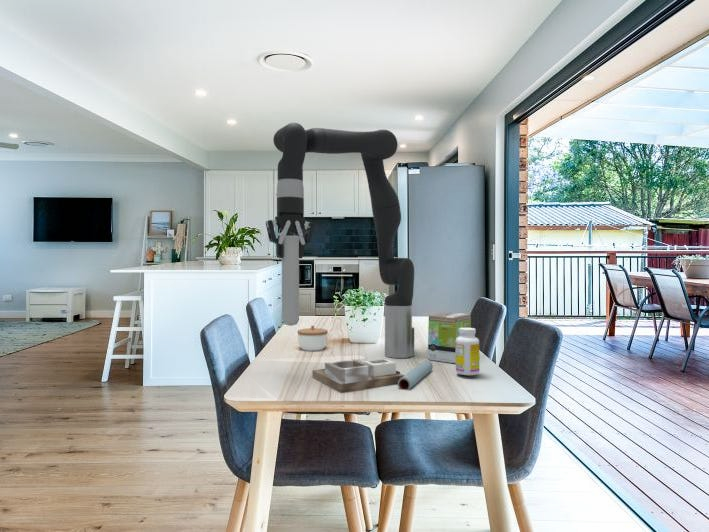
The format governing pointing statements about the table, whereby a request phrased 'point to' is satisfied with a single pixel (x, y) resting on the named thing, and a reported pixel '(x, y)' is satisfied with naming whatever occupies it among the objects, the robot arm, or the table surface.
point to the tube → (290, 280)
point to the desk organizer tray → (352, 376)
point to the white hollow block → (382, 367)
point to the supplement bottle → (467, 352)
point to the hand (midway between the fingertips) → (290, 258)
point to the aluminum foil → (415, 375)
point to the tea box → (445, 335)
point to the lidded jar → (312, 338)
